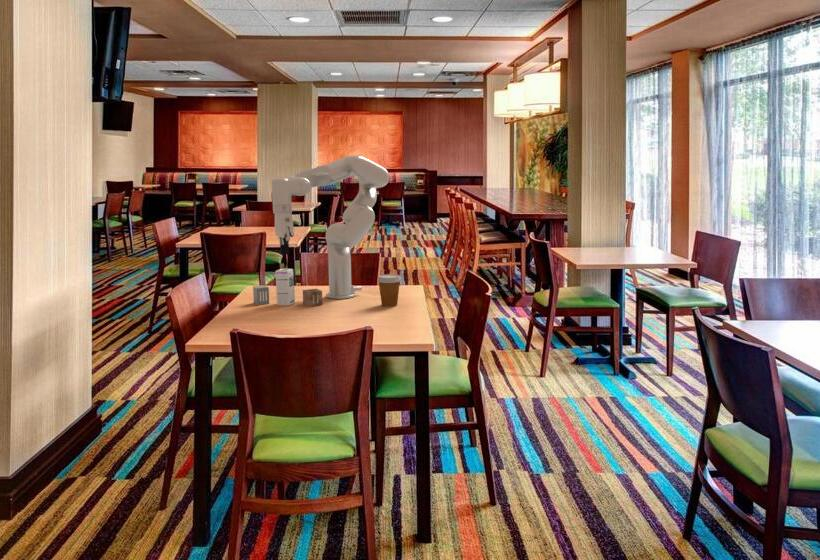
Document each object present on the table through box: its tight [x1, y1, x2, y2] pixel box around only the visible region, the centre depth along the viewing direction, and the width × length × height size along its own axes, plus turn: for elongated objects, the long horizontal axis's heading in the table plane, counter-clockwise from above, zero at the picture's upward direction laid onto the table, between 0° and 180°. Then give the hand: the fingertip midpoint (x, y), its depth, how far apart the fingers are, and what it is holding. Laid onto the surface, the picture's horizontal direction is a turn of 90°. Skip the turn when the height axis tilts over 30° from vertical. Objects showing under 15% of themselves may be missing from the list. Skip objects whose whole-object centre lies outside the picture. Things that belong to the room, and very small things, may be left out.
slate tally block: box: [252, 285, 270, 306], centre depth 299 cm, size 5×5×7 cm
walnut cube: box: [302, 288, 323, 308], centre depth 296 cm, size 6×6×6 cm
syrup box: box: [274, 268, 296, 307], centre depth 297 cm, size 6×6×14 cm
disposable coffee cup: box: [376, 273, 402, 307], centre depth 292 cm, size 10×10×12 cm
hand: (284, 254), depth 295 cm, fingers closed
